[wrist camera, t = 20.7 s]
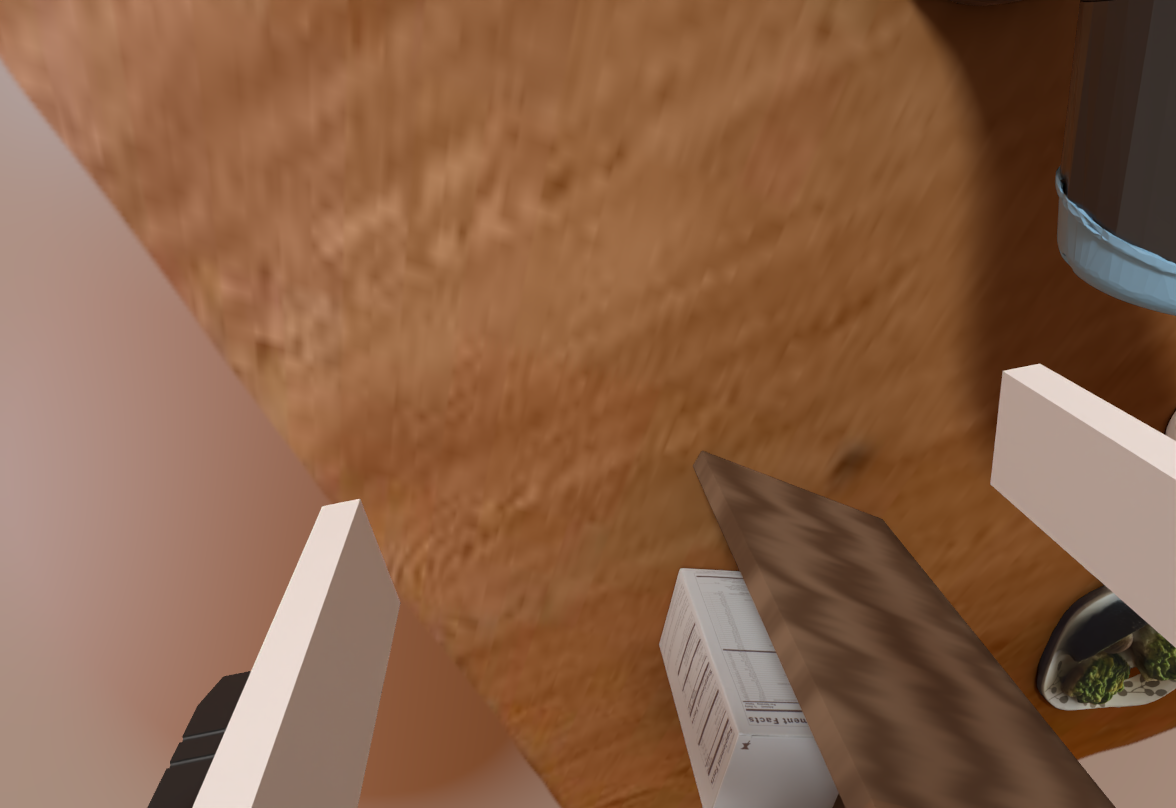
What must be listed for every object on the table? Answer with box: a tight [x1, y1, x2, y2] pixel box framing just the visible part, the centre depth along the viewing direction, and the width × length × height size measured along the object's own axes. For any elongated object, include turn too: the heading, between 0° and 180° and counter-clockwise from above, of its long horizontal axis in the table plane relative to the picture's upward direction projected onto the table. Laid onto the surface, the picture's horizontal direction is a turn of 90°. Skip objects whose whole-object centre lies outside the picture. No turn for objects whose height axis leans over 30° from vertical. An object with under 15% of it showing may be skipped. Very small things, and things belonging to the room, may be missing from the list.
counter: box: [693, 451, 1115, 808], centre depth 48 cm, size 18×26×32 cm
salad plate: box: [1037, 585, 1176, 710], centre depth 67 cm, size 19×18×5 cm
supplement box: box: [659, 568, 839, 808], centre depth 55 cm, size 10×9×17 cm
